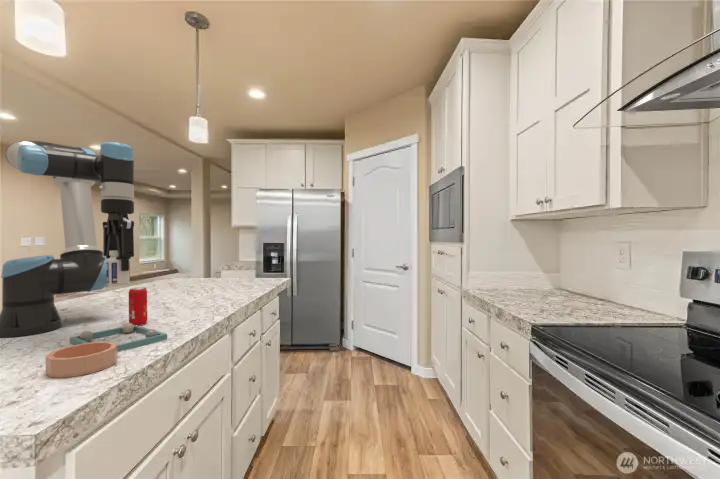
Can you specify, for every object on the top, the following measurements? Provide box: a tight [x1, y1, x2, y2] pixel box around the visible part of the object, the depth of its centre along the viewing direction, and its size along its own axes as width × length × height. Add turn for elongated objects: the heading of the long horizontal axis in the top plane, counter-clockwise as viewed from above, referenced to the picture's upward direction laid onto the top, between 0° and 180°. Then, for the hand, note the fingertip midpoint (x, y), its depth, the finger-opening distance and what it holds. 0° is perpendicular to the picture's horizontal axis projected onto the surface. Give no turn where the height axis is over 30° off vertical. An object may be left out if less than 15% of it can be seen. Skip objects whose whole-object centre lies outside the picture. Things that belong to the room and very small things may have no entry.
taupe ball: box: [79, 330, 94, 343], centre depth 94 cm, size 3×3×3 cm
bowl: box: [45, 341, 118, 379], centre depth 76 cm, size 12×12×4 cm
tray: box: [69, 325, 168, 352], centre depth 95 cm, size 20×16×2 cm
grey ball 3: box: [144, 328, 158, 338], centre depth 95 cm, size 3×3×3 cm
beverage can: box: [128, 287, 148, 326], centre depth 113 cm, size 5×5×12 cm
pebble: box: [121, 322, 134, 334], centre depth 103 cm, size 3×3×3 cm
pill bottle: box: [106, 250, 131, 287], centre depth 95 cm, size 5×5×10 cm
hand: (118, 282), depth 95 cm, fingers closed on pill bottle, 5 cm apart
